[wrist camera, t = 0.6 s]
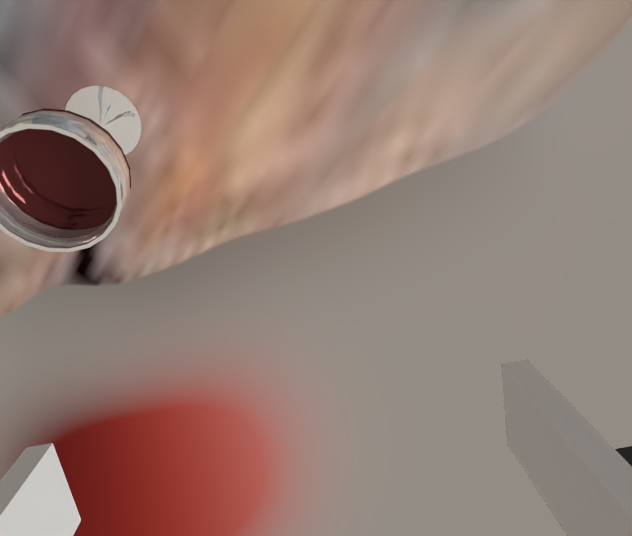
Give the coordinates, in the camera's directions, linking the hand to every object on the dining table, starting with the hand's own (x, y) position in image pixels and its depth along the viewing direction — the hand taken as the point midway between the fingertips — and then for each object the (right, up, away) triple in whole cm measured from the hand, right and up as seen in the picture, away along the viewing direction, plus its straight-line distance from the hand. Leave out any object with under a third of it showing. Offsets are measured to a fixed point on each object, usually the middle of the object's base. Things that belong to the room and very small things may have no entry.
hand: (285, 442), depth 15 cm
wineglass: (-14, +15, +20) cm, 29 cm away
